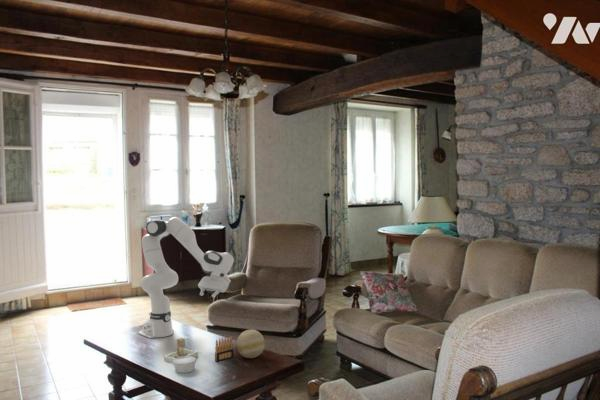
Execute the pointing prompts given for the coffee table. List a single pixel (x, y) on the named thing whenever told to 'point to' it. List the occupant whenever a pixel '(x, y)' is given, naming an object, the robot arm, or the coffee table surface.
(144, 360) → the coffee table surface
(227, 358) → the ammunition clip
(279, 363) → the coffee table surface
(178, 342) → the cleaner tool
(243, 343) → the decorative ball
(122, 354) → the coffee table surface
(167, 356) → the tray
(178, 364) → the ramekin
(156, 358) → the coffee table surface
